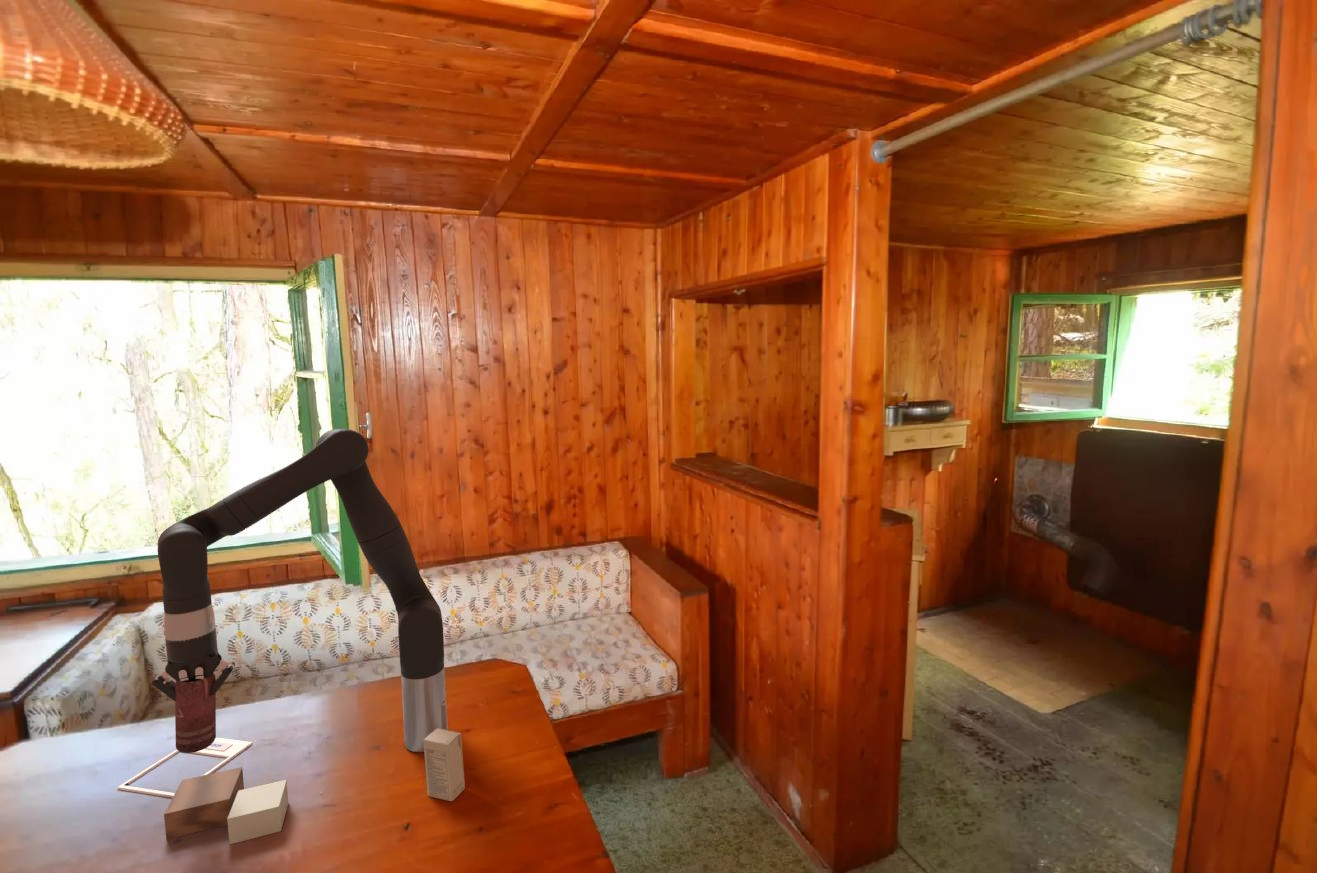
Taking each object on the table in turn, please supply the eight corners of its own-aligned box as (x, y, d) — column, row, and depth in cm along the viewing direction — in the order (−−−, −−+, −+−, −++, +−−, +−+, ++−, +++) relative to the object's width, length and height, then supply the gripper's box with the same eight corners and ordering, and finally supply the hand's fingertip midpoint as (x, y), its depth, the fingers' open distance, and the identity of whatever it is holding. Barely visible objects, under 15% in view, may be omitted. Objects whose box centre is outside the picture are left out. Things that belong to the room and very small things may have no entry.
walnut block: (244, 789, 124) (242, 767, 123) (231, 823, 115) (229, 799, 114) (184, 803, 120) (182, 780, 119) (166, 839, 111) (163, 814, 110)
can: (194, 757, 112) (194, 685, 111) (167, 750, 114) (166, 679, 112) (224, 738, 118) (224, 670, 117) (198, 732, 119) (197, 664, 118)
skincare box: (465, 788, 124) (463, 732, 122) (452, 803, 120) (449, 745, 118) (439, 781, 126) (437, 726, 125) (425, 795, 122) (422, 738, 120)
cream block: (288, 803, 120) (286, 779, 119) (280, 831, 113) (278, 806, 112) (240, 814, 117) (238, 790, 116) (229, 844, 110) (227, 819, 109)
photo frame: (252, 741, 139) (176, 795, 121) (252, 746, 139) (177, 800, 121) (199, 734, 142) (117, 786, 124) (199, 739, 142) (117, 791, 124)
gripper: (237, 617, 119) (245, 700, 121) (154, 628, 114) (163, 715, 116) (227, 632, 112) (235, 720, 114) (138, 645, 107) (148, 736, 109)
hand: (199, 717), depth 115 cm, fingers closed
